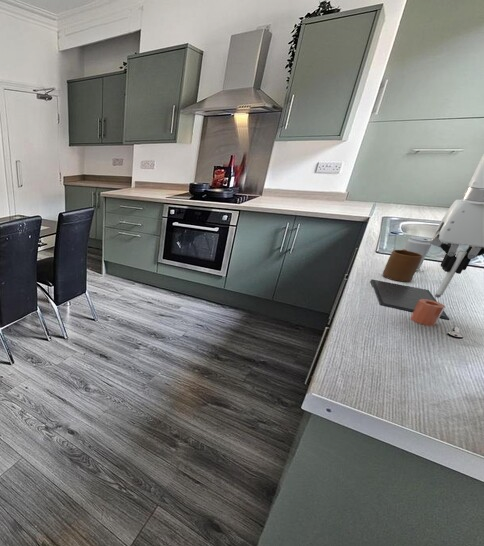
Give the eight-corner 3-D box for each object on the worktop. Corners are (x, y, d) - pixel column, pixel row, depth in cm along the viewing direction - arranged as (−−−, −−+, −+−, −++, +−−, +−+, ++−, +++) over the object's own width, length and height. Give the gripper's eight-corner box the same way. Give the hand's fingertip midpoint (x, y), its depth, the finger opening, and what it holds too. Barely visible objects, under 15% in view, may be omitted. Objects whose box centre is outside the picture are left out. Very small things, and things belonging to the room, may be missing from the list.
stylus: (439, 296, 80) (465, 251, 74) (441, 299, 80) (467, 252, 74) (433, 295, 81) (458, 250, 75) (434, 297, 80) (460, 251, 74)
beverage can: (422, 272, 116) (438, 241, 111) (400, 270, 118) (414, 239, 113) (412, 266, 121) (427, 237, 116) (392, 264, 123) (405, 235, 118)
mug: (380, 268, 119) (390, 245, 115) (407, 273, 114) (419, 249, 111) (382, 278, 110) (393, 253, 107) (412, 284, 106) (425, 258, 102)
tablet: (427, 292, 100) (428, 289, 100) (448, 321, 84) (450, 318, 84) (370, 281, 108) (371, 278, 107) (379, 306, 92) (380, 303, 91)
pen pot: (431, 321, 84) (442, 302, 82) (436, 329, 81) (447, 309, 78) (408, 316, 86) (417, 297, 84) (411, 323, 83) (421, 304, 81)
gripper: (535, 197, 69) (492, 273, 76) (435, 191, 77) (404, 260, 84) (554, 202, 63) (505, 283, 70) (444, 195, 72) (410, 269, 79)
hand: (450, 270), depth 77 cm, fingers closed on stylus, 1 cm apart
